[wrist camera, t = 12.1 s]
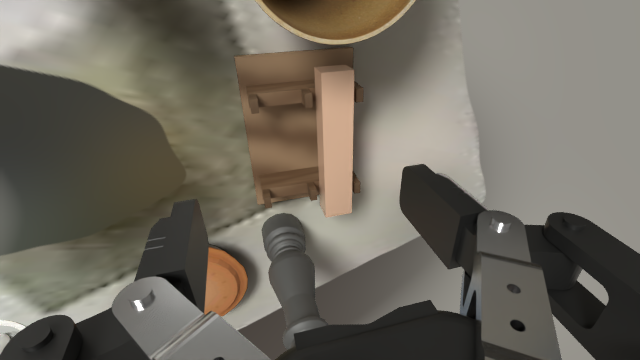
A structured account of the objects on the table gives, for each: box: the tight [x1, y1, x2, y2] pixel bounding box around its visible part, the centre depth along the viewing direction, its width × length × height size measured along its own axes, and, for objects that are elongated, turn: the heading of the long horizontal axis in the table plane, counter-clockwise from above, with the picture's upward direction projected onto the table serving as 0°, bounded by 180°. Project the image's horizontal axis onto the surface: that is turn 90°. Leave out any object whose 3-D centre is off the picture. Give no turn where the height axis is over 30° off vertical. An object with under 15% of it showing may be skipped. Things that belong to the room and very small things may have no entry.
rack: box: [234, 47, 364, 208], centre depth 40 cm, size 20×14×7 cm
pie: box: [204, 244, 248, 316], centre depth 49 cm, size 16×16×5 cm
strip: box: [314, 65, 354, 217], centre depth 39 cm, size 18×4×3 cm, turn 2°
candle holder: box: [262, 213, 328, 349], centre depth 40 cm, size 6×6×25 cm
